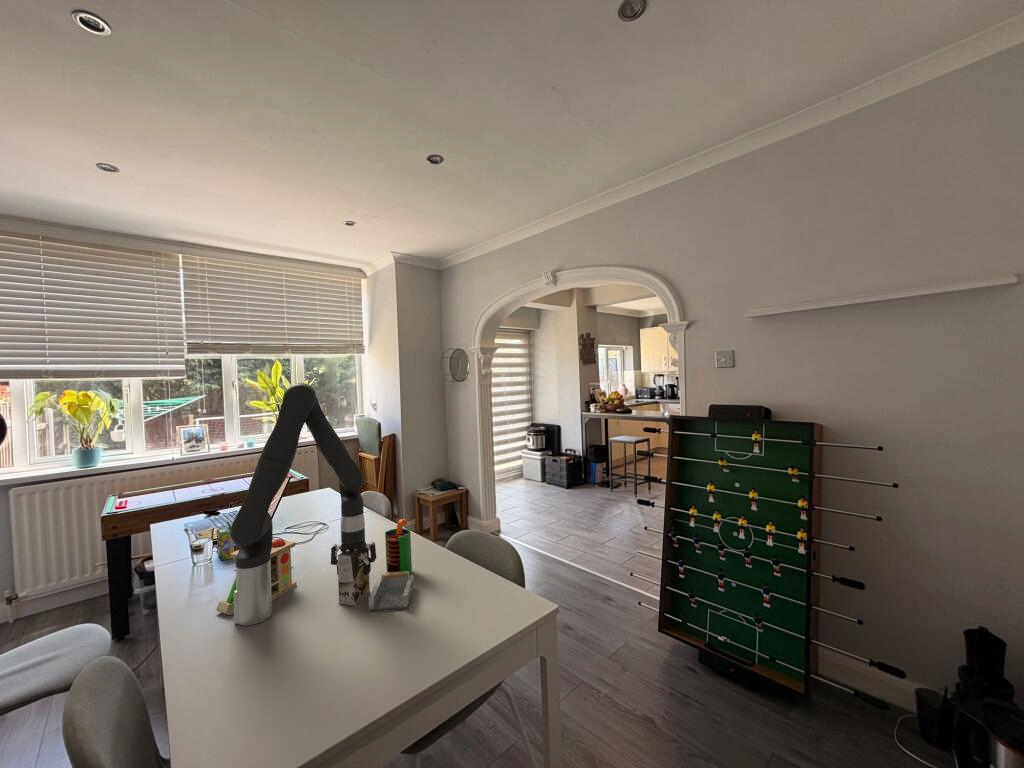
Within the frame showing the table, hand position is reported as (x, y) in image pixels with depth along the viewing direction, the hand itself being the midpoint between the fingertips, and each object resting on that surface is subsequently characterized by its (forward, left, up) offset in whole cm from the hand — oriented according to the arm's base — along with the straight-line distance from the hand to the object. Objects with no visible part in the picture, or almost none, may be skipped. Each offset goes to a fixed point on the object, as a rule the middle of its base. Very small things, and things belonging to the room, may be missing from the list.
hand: (354, 575), depth 141 cm
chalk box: (-63, +45, -8) cm, 78 cm away
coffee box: (0, 0, -8) cm, 8 cm away
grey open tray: (+13, -3, -8) cm, 15 cm away
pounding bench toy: (-34, +4, -8) cm, 35 cm away
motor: (+12, +16, -8) cm, 22 cm away
